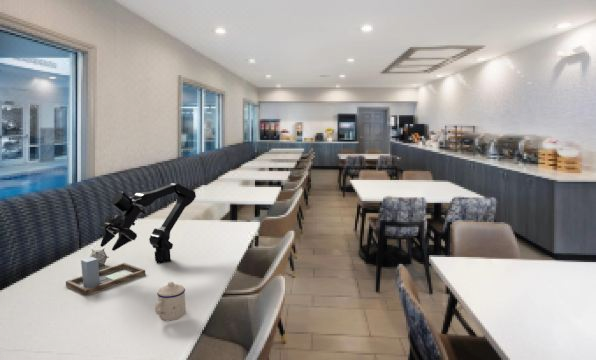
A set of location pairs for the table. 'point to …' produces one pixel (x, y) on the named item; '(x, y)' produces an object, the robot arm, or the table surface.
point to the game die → (99, 256)
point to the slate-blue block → (90, 272)
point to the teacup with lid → (171, 302)
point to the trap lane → (106, 279)
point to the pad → (115, 276)
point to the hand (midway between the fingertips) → (106, 248)
